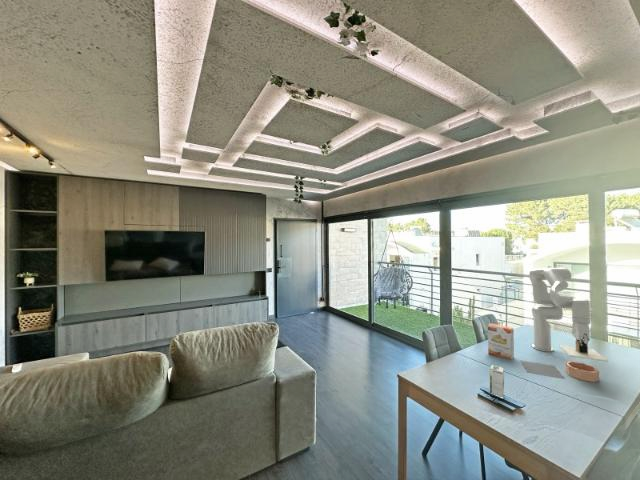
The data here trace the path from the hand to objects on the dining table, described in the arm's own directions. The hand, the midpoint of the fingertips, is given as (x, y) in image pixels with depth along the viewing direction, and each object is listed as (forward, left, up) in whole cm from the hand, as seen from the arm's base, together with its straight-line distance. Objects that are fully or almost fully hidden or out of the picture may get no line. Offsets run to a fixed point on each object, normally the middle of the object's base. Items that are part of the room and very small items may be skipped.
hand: (581, 350), depth 153 cm
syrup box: (+44, -48, -16) cm, 67 cm away
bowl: (0, 0, -16) cm, 16 cm away
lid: (0, 0, -2) cm, 2 cm away
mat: (0, -19, -16) cm, 25 cm away
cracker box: (-13, -38, -16) cm, 43 cm away
